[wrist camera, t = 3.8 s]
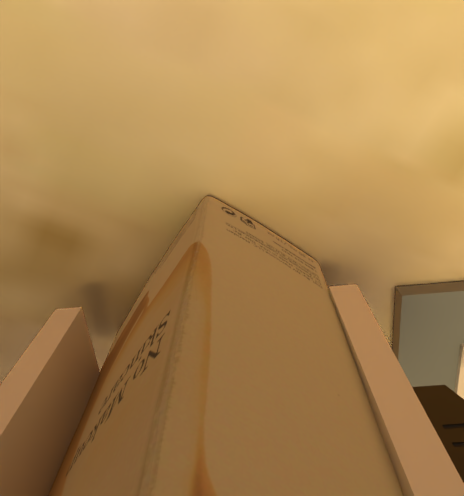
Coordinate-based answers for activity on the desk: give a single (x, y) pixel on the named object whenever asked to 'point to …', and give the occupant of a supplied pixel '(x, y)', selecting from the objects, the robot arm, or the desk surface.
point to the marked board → (430, 334)
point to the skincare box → (229, 380)
